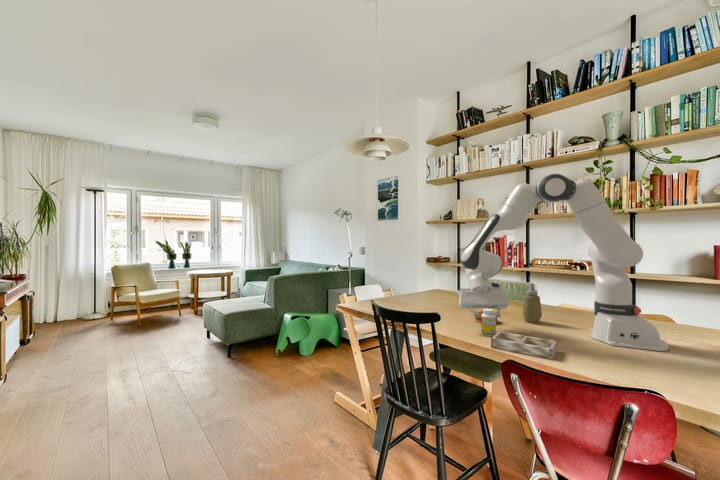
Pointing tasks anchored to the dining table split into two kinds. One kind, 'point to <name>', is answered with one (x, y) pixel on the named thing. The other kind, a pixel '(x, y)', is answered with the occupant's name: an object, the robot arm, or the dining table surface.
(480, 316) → the burger
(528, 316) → the squeeze bottle
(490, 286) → the robot arm
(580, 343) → the dining table surface
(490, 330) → the supplement bottle
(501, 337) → the grey divided wooden tray
